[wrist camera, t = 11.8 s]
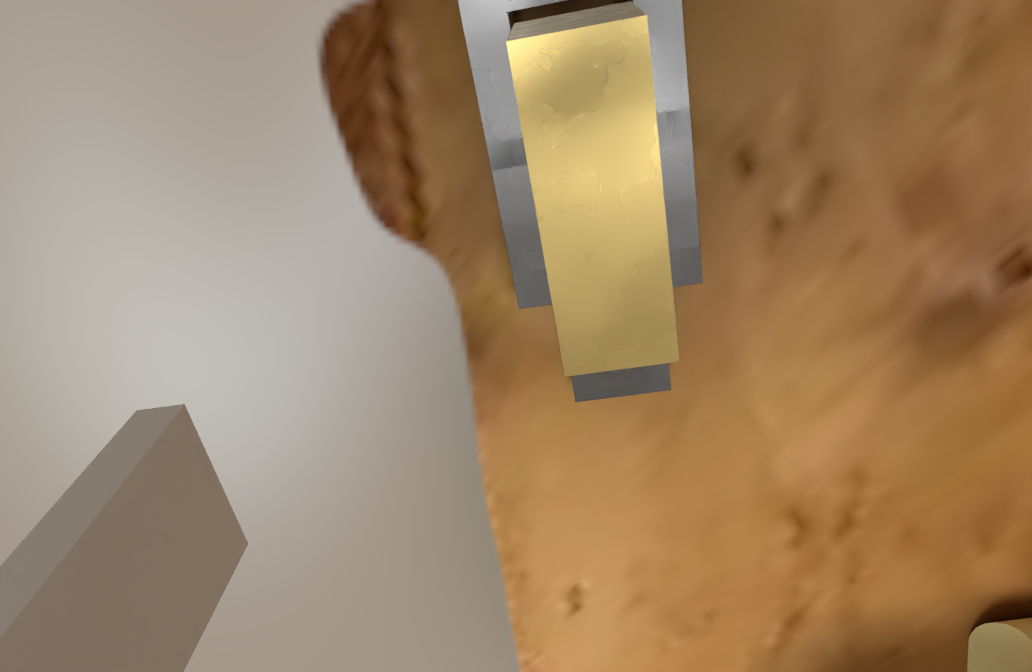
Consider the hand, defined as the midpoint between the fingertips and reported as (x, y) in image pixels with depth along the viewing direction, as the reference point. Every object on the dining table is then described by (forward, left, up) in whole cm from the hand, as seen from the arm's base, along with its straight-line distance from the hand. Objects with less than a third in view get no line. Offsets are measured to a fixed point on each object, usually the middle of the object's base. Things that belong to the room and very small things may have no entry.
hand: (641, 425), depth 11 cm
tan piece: (0, 0, -20) cm, 20 cm away
